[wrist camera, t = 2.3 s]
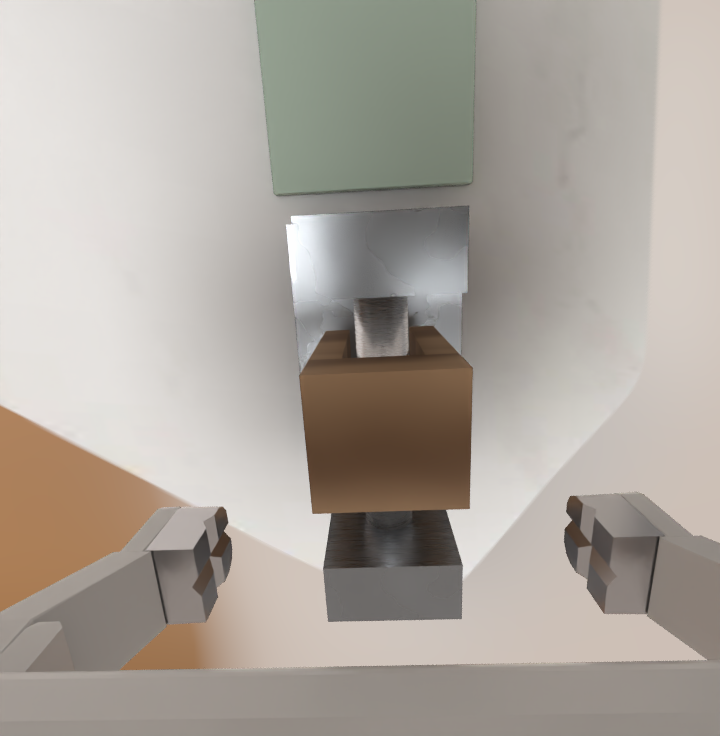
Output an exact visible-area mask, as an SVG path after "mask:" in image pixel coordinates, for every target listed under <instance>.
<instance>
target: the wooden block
mask: <svg viewBox="0 0 720 736" xmlns="http://www.w3.org/2000/svg"><path fill="white" fill-rule="evenodd" d="M409 347H410V355H407V356H385V357H363V358H351V346H350V330H334V331H326V332H325V333H324V335H323V337H322V338H321V340H320V342H319V343H318V345H317V347H316V348H315V350H314V352H313V353H312V355H311V357H310V358H309V360H308V362H307V363H306V365H305V367H304V369H303V370H302V372H301V374H300V375H299V378H300V388H301V399H302V409H303V420H304V430H305V440H306V451H307V461H308V472H309V482H310V492H311V503H312V513H313V514H322V513H353V512H385V511H417V510H448V509H470V466H471V421H472V377H473V368H472V367H471V366H470V365H469V364H468V362H467V361H466V360H465V359H464V358H463V357H462V356H461V355H460V354H459V353H458V352H457V351H456V350H455V349H454V348H453V346H452V345H451V344H450V343H449V342H448V341H447V340H446V339H445V338H444V337H443V336H442V335H441V334H440V333H439V332H438V330H437V329H436V328H435V327H434V326H418V327H409Z"/></svg>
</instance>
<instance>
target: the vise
mask: <svg viewBox="0 0 720 736" xmlns="http://www.w3.org/2000/svg"><path fill="white" fill-rule="evenodd" d="M291 223H292V225H286V230H287V240H288V251H289V261H290V272H291V282H292V293H293V303H294V314H295V324H296V335H297V345H298V356H299V366H300V374H301V372H302V370H303V369H304V367H305V365H306V363H307V362H308V360H309V358H310V357H311V355H312V353H313V352H314V350H315V348H316V347H317V345H318V343H319V342H320V340H321V338H322V337H323V335H324V333H325V332H326V331H334V330H350V346H351V358H363V357H385V356H407V355H410V347H409V327H418V326H434V327H435V328H436V329H437V330H438V332H439V333H440V334H441V335H442V336H443V337H444V338H445V339H446V340H447V341H448V342H449V343H450V344H451V345H452V346H453V348H454V349H455V350H456V351H457V352H458V353H459V354H460V355H461V341H462V293H468V239H469V206H455V207H438V208H421V209H404V210H387V211H370V212H353V213H336V214H319V215H302V216H291ZM462 570H463V565H462V562H461V558H460V555H459V552H458V548H457V545H456V542H455V538H454V535H453V532H452V528H451V525H450V522H449V518H448V515H447V512H446V510H417V511H385V512H353V513H332V514H331V521H330V527H329V534H328V541H327V547H326V554H325V561H324V567H323V571H324V582H325V593H326V604H327V615H328V621H329V622H334V621H384V620H432V619H462Z"/></svg>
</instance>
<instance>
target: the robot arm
mask: <svg viewBox="0 0 720 736" xmlns="http://www.w3.org/2000/svg"><path fill="white" fill-rule="evenodd" d="M566 512H567V514H568V515H569V516H570V518H571V519H572V521H571V522H570V524H569V525H568V526H567V527H566V528H565V535H564V543H565V548H566V554H567V556H568V559H569V561H570V563H571V565H572V567H573V568H574V570H575V571H576V573H578V574H580V575H581V576H583V577H585V578H586V579H588V581H587V589H588V591H589V592H590V593H591V595H592V597H593V598H594V600H595V601H596V602H597V604H598V605H599V607H600V608H601V610H602V611H603V613H604V614H648V615H647V616H648V617H649V618H650V619H652V620H653V621H655V622H656V623H657V624H659V625H660V626H662V627H663V628H664V629H666V630H667V631H668V632H670V633H671V634H673V635H674V636H675V637H677V638H678V639H680V640H681V641H682V642H684V643H685V644H686V645H688V646H689V647H691V648H692V649H693V650H695V651H696V652H698V653H699V654H700V655H702V656H703V657H705V658H706V659H707V660H698V661H696V660H695V661H637V662H636V661H635V662H580V663H579V662H577V663H576V662H574V663H520V664H519V663H515V664H460V665H458V664H457V665H411V666H410V665H409V666H408V665H406V666H351V667H293V668H292V667H291V668H237V669H236V668H231V669H175V670H174V669H171V670H120V669H121V668H122V667H123V666H124V665H125V664H126V663H127V662H128V661H129V660H131V659H132V658H133V657H134V656H135V655H136V654H137V653H138V652H139V651H140V650H141V649H142V648H143V647H145V646H146V645H147V644H148V643H149V642H150V641H151V640H152V639H154V638H155V637H156V636H157V635H158V634H159V633H160V632H161V631H162V630H163V629H165V628H166V624H184V623H203V622H206V621H207V619H208V617H209V615H210V613H211V611H212V608H213V606H214V604H215V602H216V600H217V598H218V595H217V587H218V586H220V585H221V584H222V583H223V582H225V580H226V578H227V576H228V573H229V570H230V566H231V560H232V544H231V538H230V537H228V535H227V534H226V533H225V532H224V529H225V528H226V526H227V524H228V518H227V513H226V510H225V509H224V508H223V507H167V508H160V509H157V511H156V512H155V513H154V514H153V515H152V516H151V517H150V518H149V519H148V521H147V522H146V523H145V524H144V525H143V526H142V528H141V529H140V530H139V531H138V532H137V533H136V534H135V535H134V537H133V538H132V539H131V540H130V541H129V542H128V543H127V545H126V546H125V547H124V548H123V549H122V550H121V551H120V552H113V553H111V554H109V555H107V556H105V557H103V558H101V559H100V560H98V561H96V562H94V563H92V564H90V565H89V566H86V567H85V568H83V569H81V570H79V571H77V572H75V573H73V574H71V575H69V576H67V577H66V578H64V579H62V580H60V581H58V582H56V583H54V584H52V585H50V586H49V587H47V588H45V589H43V590H41V591H39V592H37V593H36V594H34V595H32V596H30V597H28V598H26V599H24V600H22V601H20V602H19V603H17V604H15V605H13V606H11V607H9V608H8V609H5V610H3V611H2V612H0V736H720V543H718V542H716V541H713V540H711V539H708V538H706V537H703V536H693V535H692V534H691V533H689V532H688V531H687V530H686V529H684V528H683V527H682V526H681V525H680V524H679V523H677V522H676V521H675V520H674V519H673V518H671V517H670V516H669V515H668V514H667V513H665V512H664V511H663V510H662V509H661V508H659V507H658V506H657V505H656V504H655V503H653V502H652V501H651V500H650V499H649V498H647V497H646V496H645V495H644V494H641V493H638V492H628V493H614V494H599V495H581V496H570V498H569V500H568V502H567V510H566Z"/></svg>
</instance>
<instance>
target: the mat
mask: <svg viewBox="0 0 720 736" xmlns="http://www.w3.org/2000/svg"><path fill="white" fill-rule="evenodd" d="M254 4H255V14H256V24H257V34H258V43H259V53H260V63H261V73H262V83H263V93H264V103H265V113H266V123H267V132H268V142H269V152H270V162H271V172H272V182H273V192H274V194H275V195H276V196H283V195H299V194H316V193H332V192H349V191H365V190H382V189H399V188H415V187H432V186H448V185H465V184H470V183H472V181H473V131H474V80H475V30H476V0H254Z"/></svg>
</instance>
